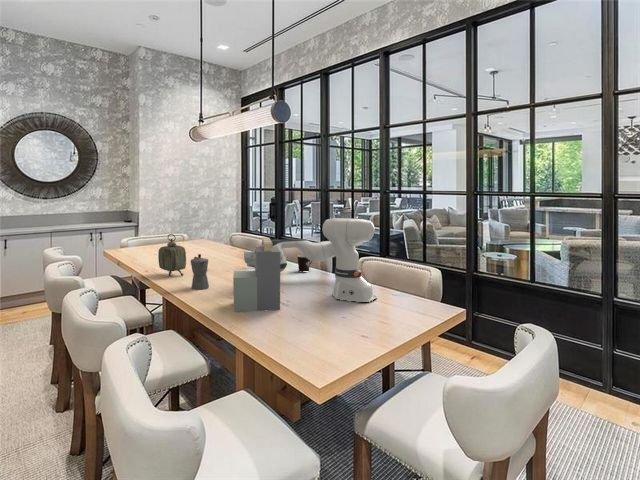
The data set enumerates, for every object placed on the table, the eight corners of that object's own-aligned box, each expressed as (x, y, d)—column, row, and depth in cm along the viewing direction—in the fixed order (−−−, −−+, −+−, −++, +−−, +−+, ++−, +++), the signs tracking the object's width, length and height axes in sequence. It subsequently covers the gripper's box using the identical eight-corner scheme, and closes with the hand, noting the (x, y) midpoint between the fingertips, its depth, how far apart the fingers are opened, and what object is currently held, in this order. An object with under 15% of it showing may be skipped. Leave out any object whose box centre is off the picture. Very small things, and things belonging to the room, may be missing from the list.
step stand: (234, 302, 186) (233, 247, 182) (277, 300, 190) (277, 246, 186) (233, 311, 172) (233, 252, 169) (280, 309, 176) (280, 251, 173)
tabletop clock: (186, 276, 238) (185, 234, 234) (173, 278, 230) (172, 235, 227) (170, 272, 245) (169, 232, 242) (157, 275, 238) (156, 233, 234)
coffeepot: (213, 289, 209) (212, 255, 206) (194, 291, 203) (194, 256, 201) (203, 283, 221) (203, 251, 219) (186, 285, 216) (185, 252, 214)
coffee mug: (299, 273, 251) (299, 257, 250) (295, 270, 259) (295, 255, 258) (316, 272, 255) (317, 256, 254) (312, 269, 263) (312, 254, 262)
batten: (261, 244, 193) (261, 237, 192) (269, 244, 193) (269, 237, 193) (264, 251, 173) (264, 243, 173) (272, 251, 174) (272, 243, 173)
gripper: (282, 265, 215) (285, 256, 202) (244, 266, 211) (244, 257, 198) (282, 254, 217) (284, 245, 205) (243, 255, 213) (244, 245, 201)
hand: (264, 251), depth 201 cm, fingers open, 8 cm apart
